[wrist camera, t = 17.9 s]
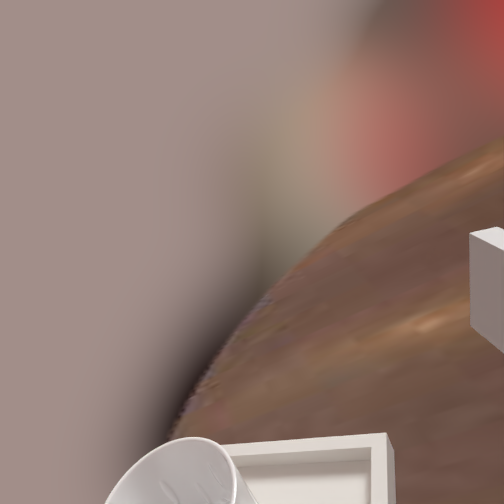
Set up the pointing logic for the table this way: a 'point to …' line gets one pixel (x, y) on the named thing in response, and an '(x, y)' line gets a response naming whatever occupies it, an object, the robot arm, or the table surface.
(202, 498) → the white cup
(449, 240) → the table surface
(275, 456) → the tray
